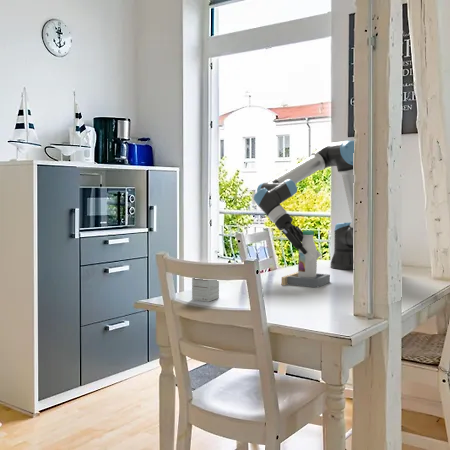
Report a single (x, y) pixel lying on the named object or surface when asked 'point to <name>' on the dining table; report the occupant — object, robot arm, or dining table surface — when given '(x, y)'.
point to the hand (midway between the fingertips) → (315, 258)
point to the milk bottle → (304, 265)
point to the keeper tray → (306, 280)
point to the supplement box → (205, 289)
